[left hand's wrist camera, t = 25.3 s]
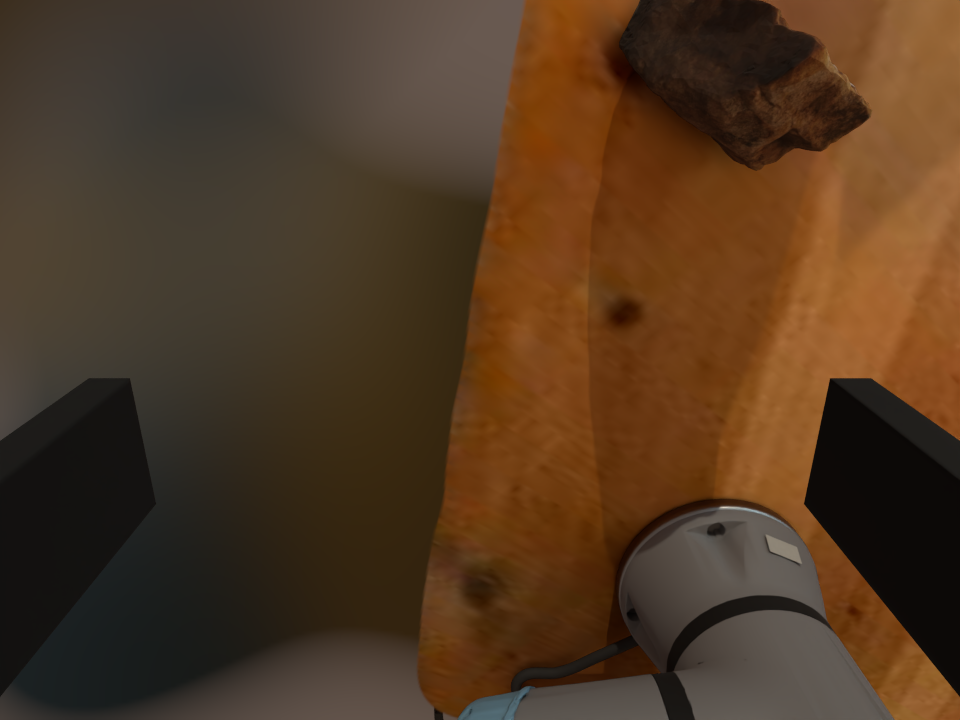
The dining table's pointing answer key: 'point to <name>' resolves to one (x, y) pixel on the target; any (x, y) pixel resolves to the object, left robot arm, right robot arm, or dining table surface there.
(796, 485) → the dining table surface
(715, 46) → the decorative rock
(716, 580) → the left robot arm
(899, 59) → the dining table surface
